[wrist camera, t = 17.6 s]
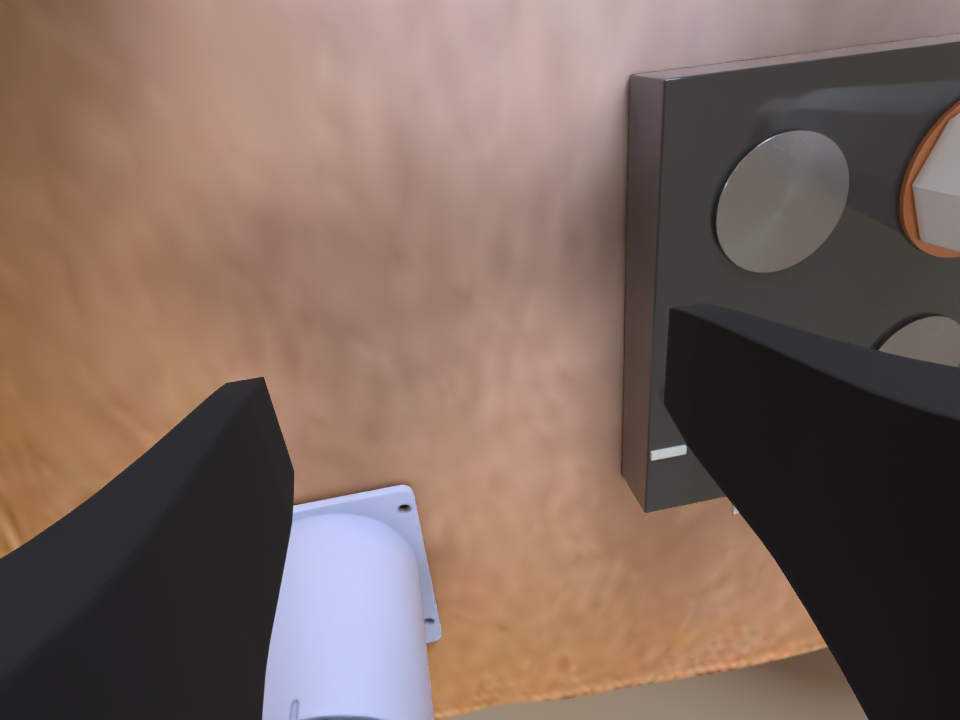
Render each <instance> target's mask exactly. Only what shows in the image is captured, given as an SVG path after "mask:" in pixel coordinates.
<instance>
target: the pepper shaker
mask: <svg viewBox="0 0 960 720" xmlns="http://www.w3.org/2000/svg"><path fill="white" fill-rule="evenodd" d="M912 188H913V195H914V202H915V208H916V215H917V222H918V229H919V236H920V239H921V241H923V242H926V243H930V244H933V245H937V246H940V247H944V248H947V249H950V250H954V251H957V252H960V114H958V115H956V116H955V117H953V118H951V119H949V121H948V123H947V124H946V126H945V128H944V130H943V131H942V133H941V135H940V137H939V138H938V140H937V142H936V144H935V145H934V147H933V149H932V151H931V152H930V154H929V156H928V158H927V159H926V161H925V163H924V165H923V166H922V168H921V170H920V172H919V173H918V175H917V177H916V179H915V180H914V182H913V184H912Z"/></svg>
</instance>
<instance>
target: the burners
mask: <svg viewBox="0 0 960 720" xmlns="http://www.w3.org/2000/svg"><path fill="white" fill-rule="evenodd" d="M958 114H960V100H959V101H958V102H957V103H956V104H954V105H953V106H952V107H951V108H950V109H948V110H947V111H946V112H945V113H944V114H943V115H942V116H941V117H940V118H939V119H938V120H937V122H936V123H935V124H934V125H933V126H932V127H931V128H930V130H929V131H928V132H927V134H926V135H925V136H924V138H923V139H922V141H921V142H920V144H919V146H918V147H917V149H916V151H915V152H914V154H913V156H912V158H911V160H910V162H909V165H908V167H907V170H906V172H905V175H904V178H903V182H902V185H901V191H900V196H899V217H900V221H901V226H902V228H903V231H904V233H905V235H906V237H907V238H908V240H909V241H910V242H911V243H912V244H913V245H914V246H915V247H916V248H918V249H919V250H921V251H922V252H925V253H927V254H930V255H932V256H937V257H944V258H952V257H960V252H957V251H954V250H950V249H947V248H944V247H940V246H937V245H933V244H930V243H926V242H923V241H921V239H920V236H919V229H918V222H917V215H916V208H915V202H914V195H913V188H912V184H913V182H914V180H915V179H916V177H917V175H918V173H919V172H920V170H921V168H922V166H923V165H924V163H925V161H926V159H927V158H928V156H929V154H930V152H931V151H932V149H933V147H934V145H935V144H936V142H937V140H938V138H939V137H940V135H941V133H942V131H943V130H944V128H945V126H946V124H947V123H948V121H949V119H951V118H953V117H955V116H956V115H958ZM848 191H849V170H848V165H847V161H846V159H845V157H844V154H843V152H842V151H841V149H840V148H839V146H838V145H837V144H836V143H835V142H834V141H833V140H831V139H830V138H829V137H827V136H825V135H823V134H821V133H819V132H815V131H811V130H804V129H793V130H787V131H782V132H779V133H776V134H773V135H771V136H769V137H767V138H765V139H763V140H761V141H760V142H758V143H757V144H755V145H754V146H753V147H751V148H750V149H749V150H748V151H747V152H745V153H744V155H743V156H742V157H741V158H740V159H739V160H738V161H737V162H736V163H735V165H734V166H733V167H732V168H731V170H730V171H729V173H728V174H727V176H726V178H725V180H724V182H723V184H722V185H721V188H720V190H719V193H718V196H717V199H716V203H715V208H714V218H713V225H714V233H715V237H716V240H717V243H718V245H719V247H720V249H721V251H722V252H723V254H724V255H725V256H726V257H727V258H728V259H729V260H730V261H731V262H733V263H734V264H735V265H737V266H739V267H741V268H743V269H745V270H748V271H752V272H760V273H767V272H775V271H779V270H783V269H786V268H788V267H791V266H793V265H795V264H797V263H799V262H800V261H802V260H804V259H805V258H807V257H808V256H809V255H811V254H812V253H813V252H814V251H815V250H816V249H818V248H819V247H820V246H821V245H822V243H823V242H824V241H825V240H826V239H827V238H828V236H829V235H830V234H831V232H832V231H833V230H834V228H835V226H836V225H837V223H838V221H839V219H840V217H841V215H842V213H843V210H844V207H845V205H846V201H847V197H848ZM874 350H878V351H882V352H886V353H890V354H894V355H899V356H903V357H908V358H912V359H918V360H923V361H928V362H933V363H938V364H944V365H949V366H954V367H958V365H959V364H960V325H959V324H958V323H957V322H956V321H954V320H953V319H951V318H949V317H946V316H943V315H937V314H931V315H924V316H920V317H916V318H914V319H911V320H909V321H907V322H905V323H903V324H902V325H900V326H898V327H897V328H895V329H894V330H893V331H891V332H890V333H889V334H888V335H887V336H886V337H885V338H884V339H883V340H882V341H881V342H880V343H879V344H878V345H877V347H876V348H875V349H874Z"/></svg>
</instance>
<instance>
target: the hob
mask: <svg viewBox="0 0 960 720" xmlns="http://www.w3.org/2000/svg"><path fill="white" fill-rule="evenodd" d="M959 100H960V33H956V34H948V35H940V36H932V37H925V38H917V39H909V40H901V41H893V42H885V43H877V44H869V45H861V46H854V47H846V48H838V49H830V50H822V51H814V52H806V53H798V54H790V55H783V56H775V57H767V58H759V59H751V60H743V61H735V62H727V63H719V64H712V65H704V66H696V67H688V68H680V69H672V70H664V71H656V72H648V73H641V74H633V75H631V76H630V100H629V150H628V201H627V251H626V301H625V352H624V402H623V453H622V476H623V477H624V479H625V481H626V482H627V484H628V486H629V487H630V489H631V491H632V492H633V494H634V496H635V497H636V499H637V501H638V502H639V504H640V506H641V507H642V509H643V511H644V512H645V513H648V512H653V511H658V510H663V509H668V508H673V507H677V506H682V505H687V504H692V503H697V502H702V501H706V500H711V499H716V498H721V497H726V495H725V494H724V492H723V491H722V490H721V489H720V487H719V486H718V485H717V484H716V482H715V481H714V480H713V479H712V477H711V476H710V475H709V473H708V472H707V471H706V469H705V468H704V467H703V466H702V464H701V463H700V462H699V460H698V459H697V458H696V456H695V455H694V454H693V452H692V451H691V450H690V448H689V447H688V446H687V444H686V442H685V441H684V439H683V437H682V436H681V434H680V432H679V430H678V429H677V427H676V425H675V423H674V422H673V420H672V418H671V416H670V414H669V412H668V410H667V408H666V407H665V405H664V389H665V373H666V357H667V341H668V325H669V308H674V307H680V306H686V305H692V304H698V303H706V304H712V305H717V306H722V307H726V308H730V309H733V310H737V311H741V312H744V313H748V314H751V315H754V316H758V317H761V318H764V319H768V320H771V321H774V322H778V323H781V324H784V325H787V326H791V327H794V328H797V329H801V330H804V331H807V332H811V333H814V334H818V335H821V336H825V337H828V338H832V339H835V340H839V341H843V342H846V343H850V344H854V345H858V346H862V347H866V348H870V349H875V348H876V347H877V345H878V344H879V343H880V342H881V341H882V340H883V339H884V338H885V337H886V336H887V335H888V334H889V333H890V332H891V331H893V330H894V329H895V328H897V327H898V326H900V325H902V324H903V323H905V322H907V321H909V320H911V319H914V318H916V317H920V316H924V315H931V314H937V315H943V316H946V317H949V318H951V319H953V320H954V321H956V322H957V323H958V324H959V325H960V257H952V258H944V257H937V256H932V255H930V254H927V253H925V252H922V251H921V250H919V249H918V248H916V247H915V246H914V245H913V244H912V243H911V242H910V241H909V240H908V238H907V237H906V235H905V233H904V231H903V228H902V226H901V221H900V217H899V196H900V191H901V185H902V182H903V178H904V175H905V172H906V170H907V167H908V165H909V162H910V160H911V158H912V156H913V154H914V152H915V151H916V149H917V147H918V146H919V144H920V142H921V141H922V139H923V138H924V136H925V135H926V134H927V132H928V131H929V130H930V128H931V127H932V126H933V125H934V124H935V123H936V122H937V120H938V119H939V118H940V117H941V116H942V115H943V114H944V113H945V112H946V111H947V110H948V109H950V108H951V107H952V106H953V105H954V104H956V103H957V102H958V101H959ZM793 129H804V130H811V131H815V132H819V133H821V134H823V135H825V136H827V137H829V138H830V139H831V140H833V141H834V142H835V143H836V144H837V145H838V146H839V148H840V149H841V151H842V152H843V154H844V157H845V159H846V161H847V165H848V170H849V191H848V197H847V201H846V205H845V207H844V210H843V213H842V215H841V217H840V219H839V221H838V223H837V225H836V226H835V228H834V230H833V231H832V232H831V234H830V235H829V236H828V238H827V239H826V240H825V241H824V242H823V243H822V245H821V246H820V247H819V248H818V249H816V250H815V251H814V252H813V253H812V254H811V255H809V256H808V257H807V258H805V259H804V260H802V261H800V262H799V263H797V264H795V265H793V266H791V267H788V268H786V269H783V270H779V271H775V272H767V273H760V272H752V271H748V270H745V269H743V268H741V267H739V266H737V265H735V264H734V263H733V262H731V261H730V260H729V259H728V258H727V257H726V256H725V255H724V254H723V252H722V251H721V249H720V247H719V245H718V243H717V240H716V237H715V233H714V225H713V218H714V208H715V203H716V199H717V196H718V193H719V190H720V188H721V185H722V184H723V182H724V180H725V178H726V176H727V174H728V173H729V171H730V170H731V168H732V167H733V166H734V165H735V163H736V162H737V161H738V160H739V159H740V158H741V157H742V156H743V155H744V153H745V152H747V151H748V150H749V149H750V148H751V147H753V146H754V145H755V144H757V143H758V142H760V141H761V140H763V139H765V138H767V137H769V136H771V135H773V134H776V133H779V132H782V131H787V130H793ZM958 367H959V368H960V364H959V365H958ZM731 512H732V514H733V515H734V514H738V513H739V512H738V510H737V509H736V508H735V506H734V505H733V504H732V511H731Z"/></svg>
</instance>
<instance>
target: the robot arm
mask: <svg viewBox="0 0 960 720" xmlns="http://www.w3.org/2000/svg"><path fill="white" fill-rule="evenodd" d="M664 405H665V407H666V408H667V410H668V412H669V414H670V416H671V418H672V420H673V422H674V423H675V425H676V427H677V429H678V430H679V432H680V434H681V436H682V437H683V439H684V441H685V442H686V444H687V446H688V447H689V448H690V450H691V451H692V452H693V454H694V455H695V456H696V458H697V459H698V460H699V462H700V463H701V464H702V466H703V467H704V468H705V469H706V471H707V472H708V473H709V475H710V476H711V477H712V479H713V480H714V481H715V482H716V484H717V485H718V486H719V487H720V489H721V490H722V491H723V492H724V494H725V495H726V496H727V498H728V499H729V500H730V501H731V503H732V504H733V505H734V506H735V508H736V509H737V510H738V512H739V513H740V514H741V515H742V517H743V518H744V519H745V520H746V522H747V523H748V524H749V526H750V527H751V528H752V529H753V531H754V532H755V533H756V534H757V536H758V537H759V538H760V540H761V541H762V542H763V544H764V545H765V547H766V548H767V549H768V551H769V552H770V554H771V555H772V556H773V558H774V559H775V561H776V562H777V564H778V565H779V567H780V568H781V570H782V572H783V573H784V575H785V576H786V578H787V580H788V581H789V583H790V584H791V586H792V588H793V589H794V591H795V592H796V594H797V596H798V597H799V599H800V600H801V602H802V604H803V605H804V607H805V608H806V610H807V612H808V613H809V615H810V617H811V618H812V620H813V622H814V624H815V625H816V627H817V629H818V630H819V632H820V634H821V635H822V637H823V639H824V641H825V642H826V644H827V646H828V647H829V649H830V651H831V653H832V654H833V656H834V658H835V659H836V661H837V663H838V664H839V666H840V668H841V670H842V672H843V673H844V675H845V677H846V679H847V681H848V683H849V684H850V686H851V688H852V690H853V692H854V694H855V695H856V697H857V699H858V701H859V703H860V705H861V706H862V708H863V710H864V712H865V714H866V715H867V718H868V719H869V720H960V368H959V367H954V366H949V365H944V364H938V363H933V362H928V361H923V360H918V359H912V358H908V357H903V356H899V355H894V354H890V353H886V352H882V351H878V350H874V349H870V348H866V347H862V346H858V345H854V344H850V343H846V342H843V341H839V340H835V339H832V338H828V337H825V336H821V335H818V334H814V333H811V332H807V331H804V330H801V329H797V328H794V327H791V326H787V325H784V324H781V323H778V322H774V321H771V320H768V319H764V318H761V317H758V316H754V315H751V314H748V313H744V312H741V311H737V310H733V309H730V308H726V307H722V306H717V305H712V304H706V303H698V304H692V305H686V306H680V307H674V308H669V325H668V341H667V357H666V373H665V389H664ZM293 500H294V469H293V466H292V463H291V460H290V457H289V454H288V451H287V448H286V444H285V441H284V438H283V435H282V432H281V429H280V426H279V423H278V420H277V417H276V414H275V411H274V408H273V404H272V401H271V398H270V395H269V392H268V389H267V386H266V383H265V380H264V377H259V378H253V379H248V380H242V381H236V382H230V383H226V384H225V385H223V386H222V387H220V388H219V389H218V390H216V391H215V392H214V393H213V394H212V395H210V396H209V397H208V398H207V399H206V400H205V401H203V402H202V403H201V404H200V405H199V406H198V407H197V408H196V409H194V410H193V411H192V412H191V413H190V414H189V415H188V416H187V417H186V418H184V419H183V420H182V421H181V422H180V423H179V424H178V425H177V426H175V427H174V428H173V429H172V430H171V431H170V432H169V433H168V434H166V435H165V436H164V437H163V438H162V439H161V440H160V441H159V442H157V443H156V444H155V445H154V446H153V447H152V448H151V449H149V450H148V451H147V452H146V453H145V454H144V455H142V456H141V457H140V458H139V459H137V460H136V461H135V462H134V463H133V464H131V465H130V466H129V467H128V468H126V469H125V470H124V471H123V472H122V473H120V474H119V475H118V476H117V477H115V478H114V479H113V480H112V481H110V482H109V483H108V484H107V485H106V486H104V487H103V488H102V489H101V490H99V491H98V492H97V493H96V494H94V495H93V496H92V497H90V498H89V499H88V500H86V501H85V502H84V503H82V504H81V505H80V506H78V507H77V508H76V509H74V510H73V511H71V512H70V513H69V514H67V515H66V516H65V517H63V518H62V519H60V520H59V521H57V522H56V523H54V524H53V525H52V526H50V527H49V528H47V529H46V530H44V531H43V532H41V533H40V534H38V535H37V536H36V537H34V538H33V539H31V540H30V541H28V542H27V543H25V544H24V545H22V546H21V547H19V548H17V549H16V550H14V551H13V552H11V553H9V554H8V555H6V556H5V557H3V558H1V559H0V720H434V712H433V702H432V693H431V683H430V674H429V664H428V655H427V645H426V644H428V643H432V642H435V641H437V640H439V639H440V637H441V636H442V630H441V624H440V619H439V614H438V609H437V604H436V599H435V595H434V590H433V585H432V580H431V575H430V570H429V565H428V560H427V555H426V550H425V545H424V540H423V535H422V530H421V525H420V520H419V515H418V510H417V506H416V501H415V496H414V492H413V489H412V488H411V487H409V486H406V485H398V486H392V487H387V488H382V489H377V490H372V491H366V492H361V493H356V494H351V495H346V496H341V497H335V498H330V499H325V500H320V501H315V502H309V503H304V504H299V505H294V506H293ZM401 505H408V507H405V508H401V507H399V506H401ZM428 618H430V619H428Z"/></svg>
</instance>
